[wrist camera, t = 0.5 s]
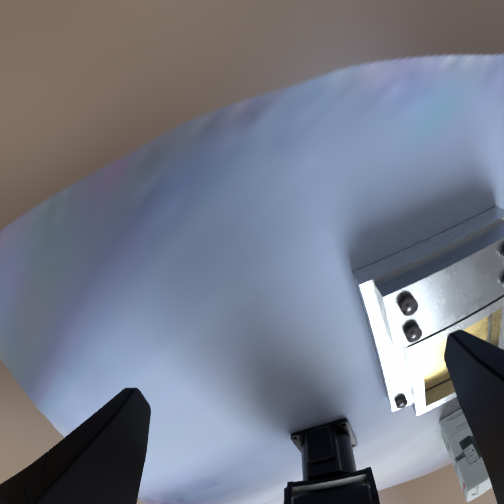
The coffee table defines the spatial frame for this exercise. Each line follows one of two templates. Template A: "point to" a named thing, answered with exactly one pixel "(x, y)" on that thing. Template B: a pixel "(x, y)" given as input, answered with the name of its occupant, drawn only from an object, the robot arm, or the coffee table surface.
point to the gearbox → (434, 306)
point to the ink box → (465, 455)
